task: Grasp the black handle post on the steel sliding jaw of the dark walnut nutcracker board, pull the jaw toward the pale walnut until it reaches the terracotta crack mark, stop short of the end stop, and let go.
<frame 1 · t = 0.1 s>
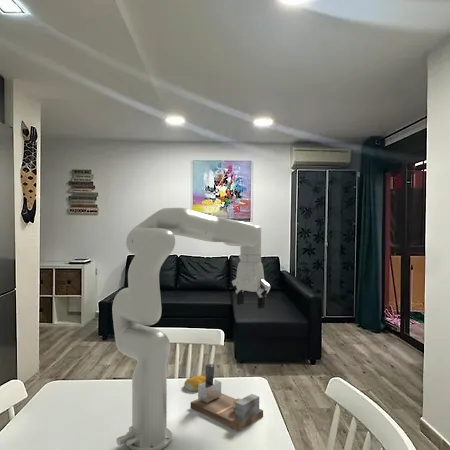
hand: (250, 306, 145), 31 cm above the table, fingers open, 9 cm apart
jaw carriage: (209, 381, 134), point 8 cm above the table, slide at 0.0 cm
bread roll: (196, 388, 149), on the table
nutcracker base: (222, 410, 130), on the table
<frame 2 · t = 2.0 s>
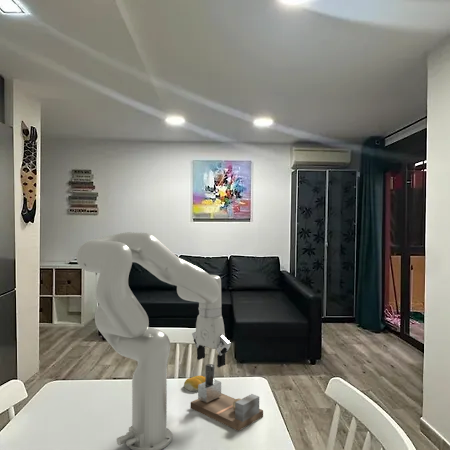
hand: (211, 362, 135), 14 cm above the table, fingers open, 9 cm apart
nothing on the table moved.
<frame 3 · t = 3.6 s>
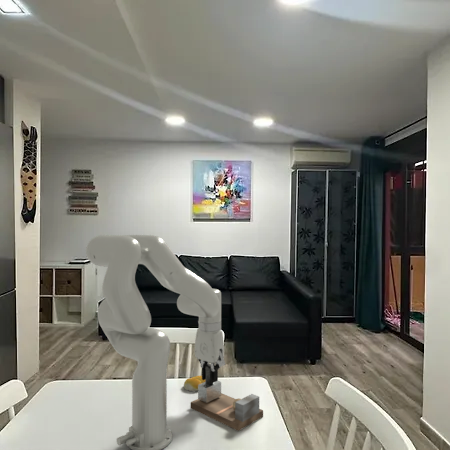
hand: (209, 379, 134), 9 cm above the table, fingers closed on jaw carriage, 3 cm apart
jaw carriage: (209, 381, 134), point 8 cm above the table, slide at 0.0 cm, touching gripper
everything else where it was.
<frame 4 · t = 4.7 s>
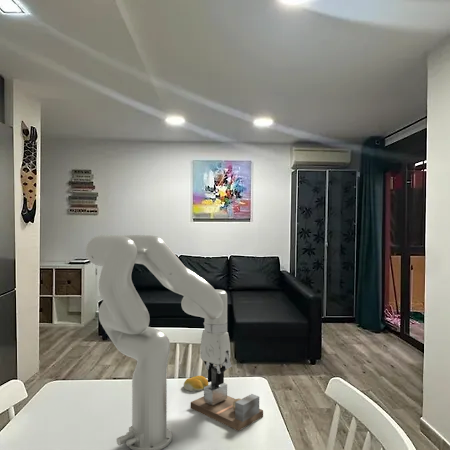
hand: (215, 382, 133), 9 cm above the table, fingers closed on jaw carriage, 3 cm apart
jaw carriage: (215, 383, 133), point 8 cm above the table, slide at 2.8 cm, touching gripper
everything else where it was.
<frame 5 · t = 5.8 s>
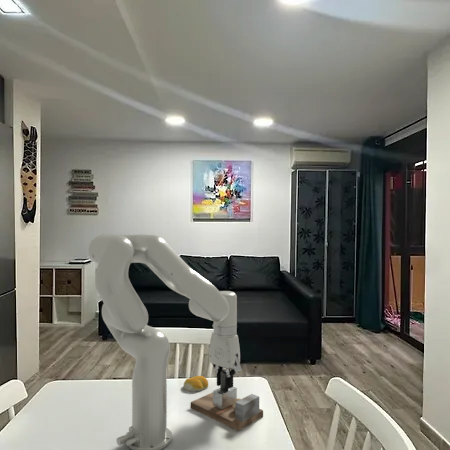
hand: (224, 385, 130), 9 cm above the table, fingers closed on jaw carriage, 3 cm apart
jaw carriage: (224, 387, 130), point 8 cm above the table, slide at 7.0 cm, touching gripper
everything else where it was.
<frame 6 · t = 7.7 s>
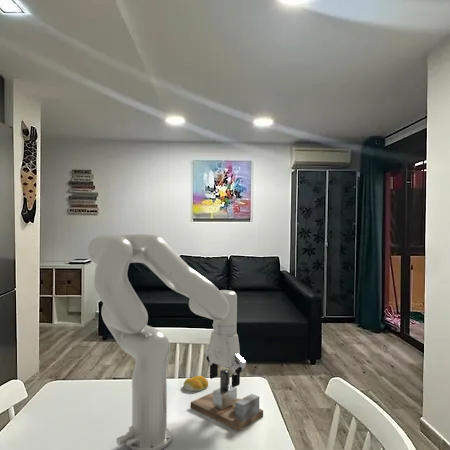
hand: (224, 381, 130), 10 cm above the table, fingers open, 9 cm apart
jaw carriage: (224, 387, 130), point 8 cm above the table, slide at 7.0 cm
everything else where it was.
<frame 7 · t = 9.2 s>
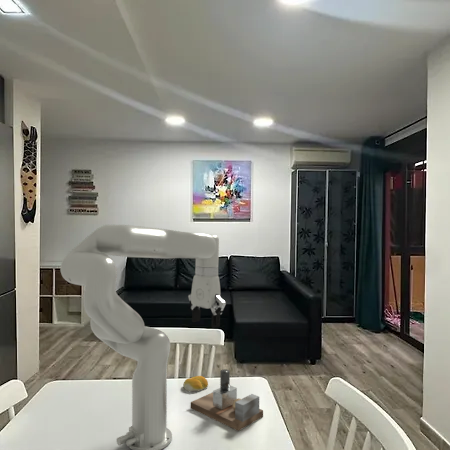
hand: (205, 324, 131), 28 cm above the table, fingers open, 9 cm apart
nothing on the table moved.
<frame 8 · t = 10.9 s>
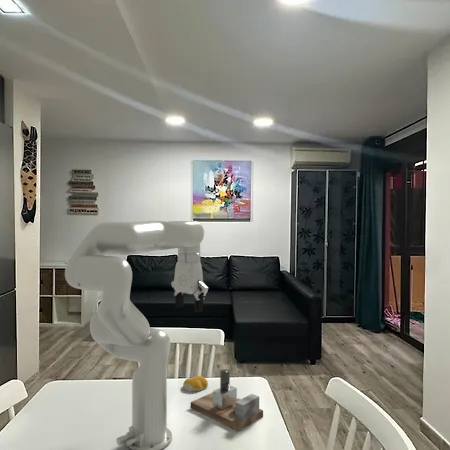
hand: (188, 309, 134), 32 cm above the table, fingers open, 9 cm apart
nothing on the table moved.
at the end: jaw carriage slide at 7.0 cm; the gripper is holding nothing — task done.
